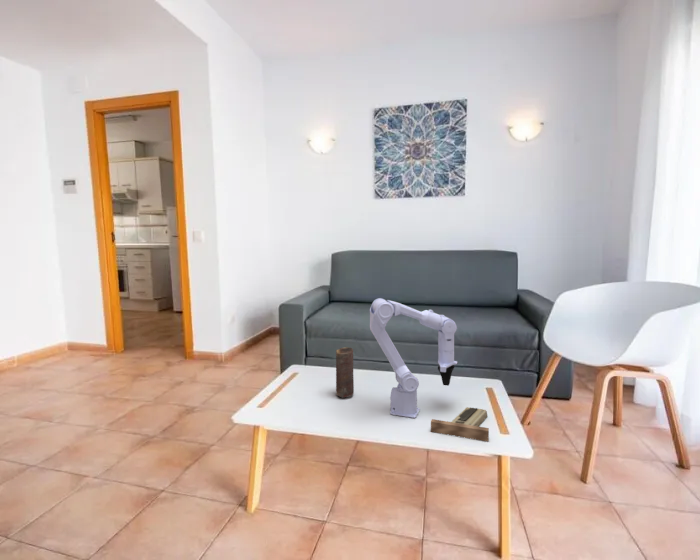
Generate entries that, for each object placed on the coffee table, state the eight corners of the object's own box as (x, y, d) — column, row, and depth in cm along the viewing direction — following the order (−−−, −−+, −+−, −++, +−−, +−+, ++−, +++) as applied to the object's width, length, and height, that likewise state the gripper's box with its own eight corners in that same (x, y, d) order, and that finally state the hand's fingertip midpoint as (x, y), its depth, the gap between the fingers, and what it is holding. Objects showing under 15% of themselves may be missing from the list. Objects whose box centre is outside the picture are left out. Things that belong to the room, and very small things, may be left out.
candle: (357, 396, 155) (356, 349, 153) (343, 401, 151) (342, 352, 149) (346, 391, 161) (345, 345, 159) (332, 395, 157) (331, 348, 155)
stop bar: (430, 431, 125) (430, 421, 124) (432, 428, 127) (431, 419, 126) (488, 441, 118) (488, 431, 117) (488, 438, 119) (488, 428, 119)
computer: (465, 412, 139) (465, 403, 139) (487, 418, 134) (487, 409, 134) (448, 429, 127) (448, 420, 127) (471, 436, 122) (471, 426, 122)
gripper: (454, 355, 131) (454, 393, 132) (459, 345, 144) (459, 379, 146) (434, 354, 134) (434, 390, 135) (441, 343, 147) (441, 377, 149)
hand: (446, 384), depth 141 cm, fingers closed
